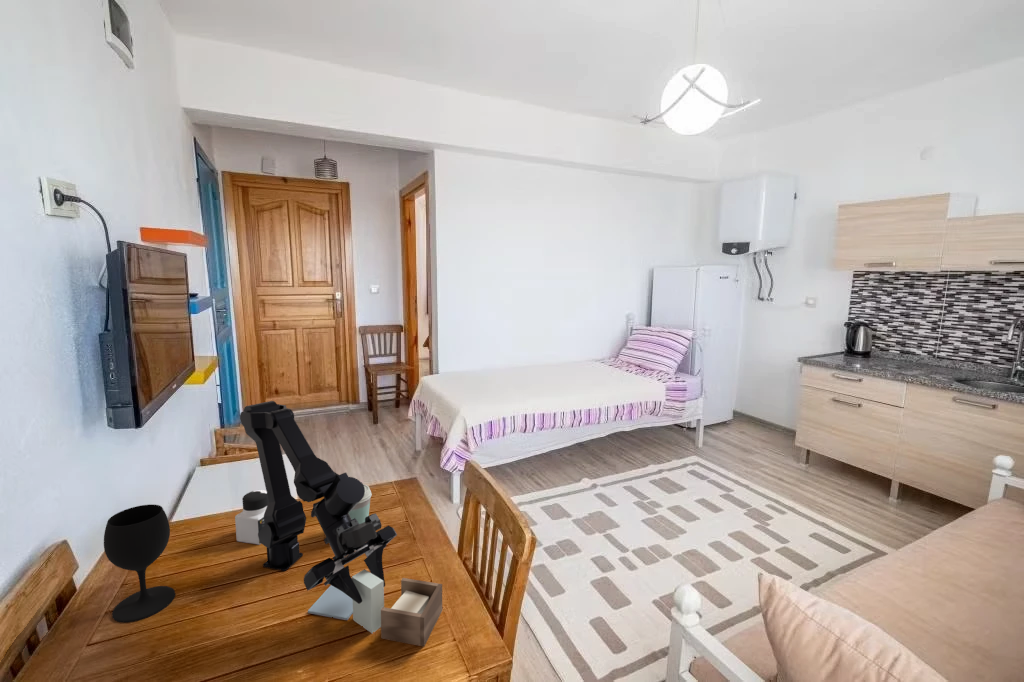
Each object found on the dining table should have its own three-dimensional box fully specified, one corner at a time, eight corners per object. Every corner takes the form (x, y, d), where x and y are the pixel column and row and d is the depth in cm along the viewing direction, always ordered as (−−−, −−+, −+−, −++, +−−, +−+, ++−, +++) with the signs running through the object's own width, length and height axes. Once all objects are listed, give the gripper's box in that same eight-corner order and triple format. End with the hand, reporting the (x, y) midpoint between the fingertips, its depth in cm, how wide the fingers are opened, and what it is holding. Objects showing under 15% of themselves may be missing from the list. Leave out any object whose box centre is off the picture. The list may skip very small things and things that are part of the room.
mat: (307, 612, 92) (307, 610, 92) (333, 584, 101) (333, 582, 101) (347, 620, 91) (347, 618, 90) (370, 590, 99) (369, 588, 99)
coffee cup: (360, 519, 128) (358, 479, 127) (379, 529, 123) (378, 488, 122) (333, 532, 121) (331, 491, 120) (352, 544, 116) (350, 500, 115)
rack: (381, 638, 86) (380, 610, 85) (403, 603, 95) (402, 577, 95) (424, 646, 84) (424, 617, 84) (442, 610, 94) (442, 584, 93)
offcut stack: (388, 632, 88) (388, 612, 87) (404, 609, 94) (404, 590, 93) (417, 639, 86) (417, 618, 86) (431, 615, 93) (431, 595, 92)
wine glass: (104, 629, 87) (93, 534, 84) (120, 596, 96) (111, 508, 93) (170, 612, 92) (161, 521, 89) (179, 582, 101) (172, 498, 98)
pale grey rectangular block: (353, 619, 91) (351, 576, 89) (365, 611, 93) (364, 569, 92) (372, 633, 87) (370, 589, 86) (384, 624, 90) (383, 580, 89)
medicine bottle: (259, 545, 115) (257, 501, 114) (235, 541, 117) (232, 498, 115) (279, 530, 122) (277, 488, 121) (256, 527, 124) (254, 485, 122)
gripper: (309, 527, 82) (347, 608, 77) (390, 489, 97) (427, 555, 92) (288, 552, 87) (323, 629, 83) (368, 512, 102) (401, 575, 98)
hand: (372, 594), depth 89 cm, fingers open, 5 cm apart
